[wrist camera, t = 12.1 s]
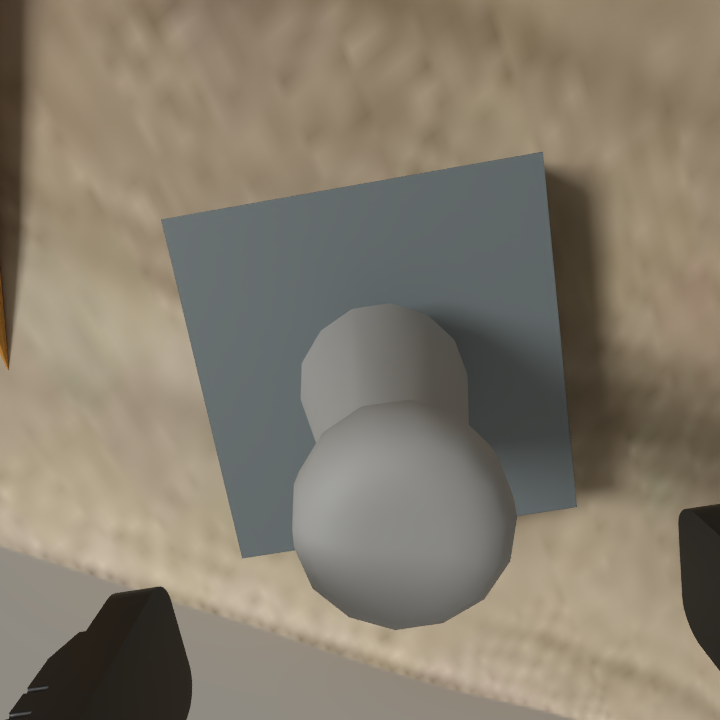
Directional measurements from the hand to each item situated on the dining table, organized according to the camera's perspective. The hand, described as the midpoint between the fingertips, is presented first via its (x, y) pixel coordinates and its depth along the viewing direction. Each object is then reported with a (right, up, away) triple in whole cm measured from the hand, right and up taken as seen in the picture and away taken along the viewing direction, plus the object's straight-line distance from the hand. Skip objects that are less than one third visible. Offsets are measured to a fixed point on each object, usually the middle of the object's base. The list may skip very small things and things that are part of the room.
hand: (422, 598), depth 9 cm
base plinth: (0, +4, +17) cm, 17 cm away
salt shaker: (0, +3, +14) cm, 14 cm away
